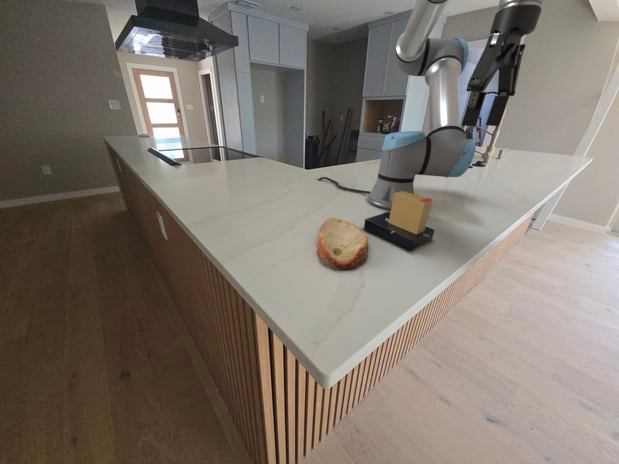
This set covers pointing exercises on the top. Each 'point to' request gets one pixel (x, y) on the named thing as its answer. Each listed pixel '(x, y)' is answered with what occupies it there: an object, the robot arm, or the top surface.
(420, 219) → the wooden block
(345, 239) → the bread slice
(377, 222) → the black flat block
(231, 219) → the top surface
